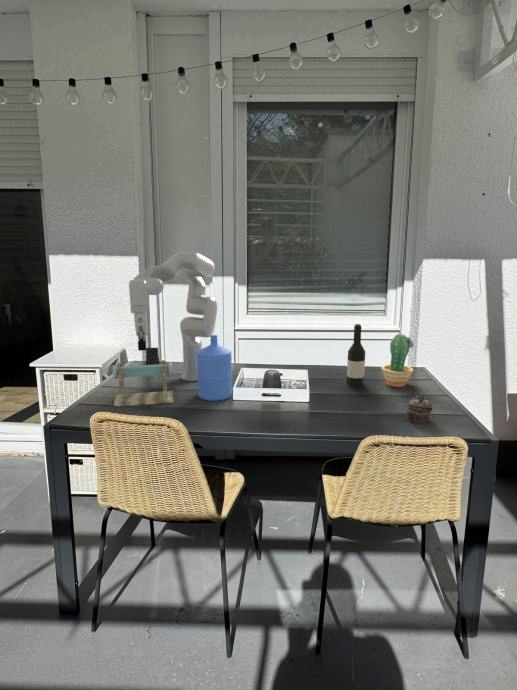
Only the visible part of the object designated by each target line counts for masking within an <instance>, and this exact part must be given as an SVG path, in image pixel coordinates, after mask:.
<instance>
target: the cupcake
mask: <svg viewBox="0 0 517 690" xmlns="http://www.w3.org/2000/svg"><path fill="white" fill-rule="evenodd" d="M405 408H406V415H407V420H408V421H409V422H412V423H415V424H427V423H428V422H429V421H430V417H431V415H432V411H433V405H432V402H431V401H429V398H428V397H427V396H426V395H422V396H420V395H419V394H417V395H416V396H414V397H413V399H411V400H409V402H408V404H407V405H406V407H405Z"/></svg>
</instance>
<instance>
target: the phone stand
mask: <svg viewBox="0 0 517 690" xmlns="http://www.w3.org/2000/svg"><path fill="white" fill-rule="evenodd" d="M145 353H146V354H145V365H156V364H161V362H160V356H159V348H158V347H146V350H145Z"/></svg>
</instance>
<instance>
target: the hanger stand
mask: <svg viewBox="0 0 517 690" xmlns="http://www.w3.org/2000/svg"><path fill="white" fill-rule="evenodd" d="M118 364H119V365H118V366H117V367H118V373H119V378H118V384H119V385H118V386H119V393H118V394H115V397H114V402H113V403H114V404H113V405H114V407H115V406H117V407H126V406H127V407H129V406H141V405H140V404H145V405H156V404H158V403H159V404H169V403H171V404H172V403H174V395H173V390H168V380H167V379H168V378H167V376H168V375H167V374H166V365H162V371H163V375H161V377H162V391H151V392H150V391H149V392H148V391H147V392H136V393H135V392H134V393H133V392H132V393H126V389H125V388H126V387H125V385H126V383H125V378H123V369H122V367H120V366H124V362H119V363H118ZM161 364H167V363H166V360H163V359H162V360H161Z"/></svg>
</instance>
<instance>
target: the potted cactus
mask: <svg viewBox="0 0 517 690" xmlns="http://www.w3.org/2000/svg"><path fill="white" fill-rule="evenodd" d="M413 347H414V342H413V340H412V339H411V337H409V336H406V334H403V333H401V334H400V333H397V334H396V335H395V336H394V337H393V338H392V339H391V341H390V343H389V350H390V355H391V358H390V364H385V365H382V366H381V367H380V369H381V371H382V373H383V376H384V378H385V380H386V382H387V383H386V384H387V385H388V386H391V387H396V388H397V387H398V388H399V387H405V386H406V383H407V382H408V380H409V378H410V377H411V375H412V374H413V372H414V368H412V366H408V365H405V363H406V359H407V356H408V354H409V352H410V349H413Z"/></svg>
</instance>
